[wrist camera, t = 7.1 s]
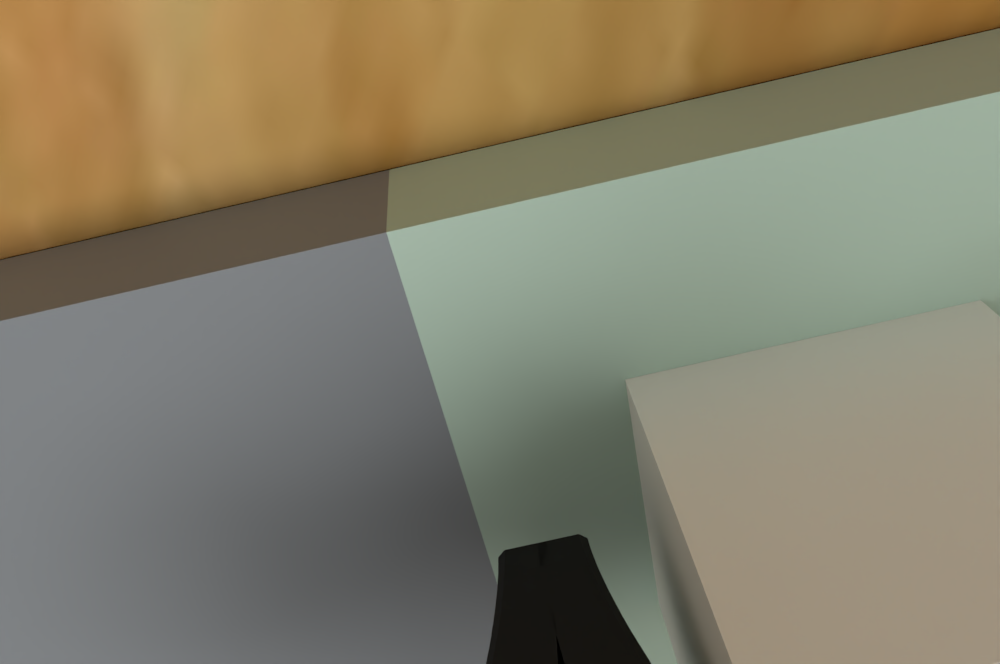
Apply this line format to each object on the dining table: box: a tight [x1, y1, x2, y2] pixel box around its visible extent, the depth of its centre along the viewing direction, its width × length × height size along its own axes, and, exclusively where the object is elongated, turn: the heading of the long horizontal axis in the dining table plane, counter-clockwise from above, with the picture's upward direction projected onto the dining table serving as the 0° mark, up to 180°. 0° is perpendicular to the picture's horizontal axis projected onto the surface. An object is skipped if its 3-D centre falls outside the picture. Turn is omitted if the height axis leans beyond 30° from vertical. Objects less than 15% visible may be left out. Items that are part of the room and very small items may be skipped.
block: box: [625, 300, 1000, 664], centre depth 11 cm, size 5×5×5 cm
